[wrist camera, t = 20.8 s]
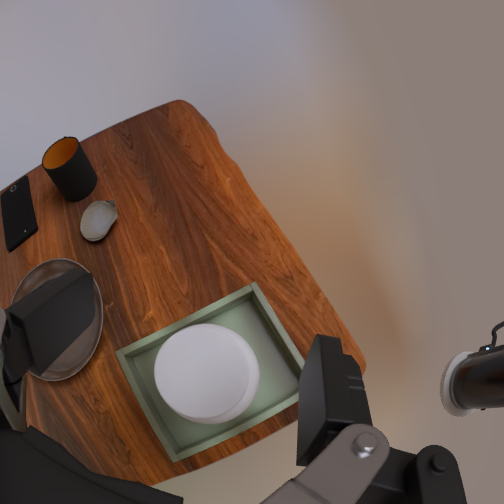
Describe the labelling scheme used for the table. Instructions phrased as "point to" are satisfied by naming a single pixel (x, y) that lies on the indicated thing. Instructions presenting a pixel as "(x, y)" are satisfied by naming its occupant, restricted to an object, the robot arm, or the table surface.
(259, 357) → the tray
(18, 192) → the cell phone
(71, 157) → the mug
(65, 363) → the plant saucer
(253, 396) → the pill bottle
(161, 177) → the table surface
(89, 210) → the seashell
